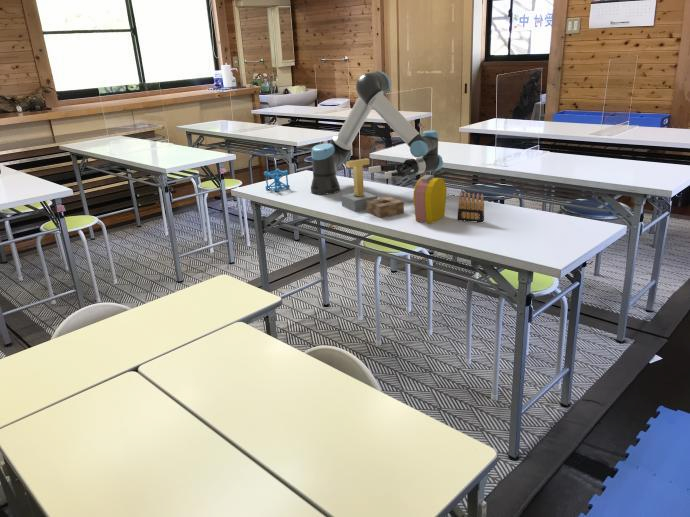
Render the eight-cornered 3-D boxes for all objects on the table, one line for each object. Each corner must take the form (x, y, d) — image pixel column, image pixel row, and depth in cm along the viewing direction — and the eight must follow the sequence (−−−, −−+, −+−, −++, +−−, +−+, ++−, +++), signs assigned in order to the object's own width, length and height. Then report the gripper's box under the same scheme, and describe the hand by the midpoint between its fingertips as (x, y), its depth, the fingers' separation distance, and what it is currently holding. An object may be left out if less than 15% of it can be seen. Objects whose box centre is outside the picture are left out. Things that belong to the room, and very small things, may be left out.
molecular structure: (279, 186, 297) (278, 168, 294) (290, 188, 290) (289, 170, 287) (264, 189, 291) (262, 171, 287) (275, 192, 284) (273, 173, 280)
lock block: (366, 211, 242) (365, 201, 240) (388, 207, 248) (388, 196, 246) (381, 218, 232) (380, 206, 231) (403, 212, 238) (403, 201, 236)
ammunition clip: (457, 220, 224) (457, 192, 220) (458, 219, 226) (459, 191, 221) (482, 222, 219) (484, 194, 215) (484, 221, 221) (485, 192, 216)
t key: (347, 207, 250) (345, 161, 242) (367, 203, 255) (366, 158, 247) (351, 209, 248) (348, 162, 240) (371, 204, 253) (369, 159, 245)
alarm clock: (428, 212, 236) (429, 171, 230) (446, 215, 232) (446, 172, 225) (412, 222, 225) (412, 178, 218) (430, 224, 221) (430, 180, 214)
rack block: (341, 205, 254) (341, 195, 252) (363, 201, 259) (363, 191, 257) (355, 211, 244) (354, 200, 242) (377, 206, 249) (377, 196, 247)
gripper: (430, 178, 251) (392, 186, 242) (398, 169, 272) (362, 176, 262) (430, 162, 249) (391, 169, 239) (398, 154, 269) (362, 160, 259)
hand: (376, 172), depth 251 cm, fingers open, 13 cm apart
